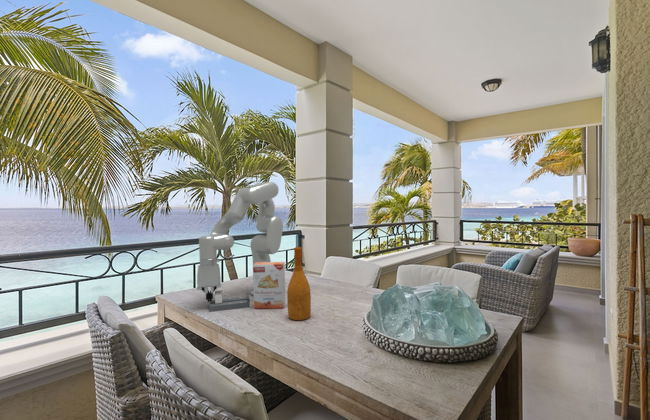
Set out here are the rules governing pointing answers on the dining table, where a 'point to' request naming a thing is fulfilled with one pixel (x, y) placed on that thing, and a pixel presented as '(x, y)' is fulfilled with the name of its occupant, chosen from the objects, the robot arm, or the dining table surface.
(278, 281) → the cracker box
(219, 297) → the block
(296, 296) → the wine bottle
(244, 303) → the board
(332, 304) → the dining table surface
